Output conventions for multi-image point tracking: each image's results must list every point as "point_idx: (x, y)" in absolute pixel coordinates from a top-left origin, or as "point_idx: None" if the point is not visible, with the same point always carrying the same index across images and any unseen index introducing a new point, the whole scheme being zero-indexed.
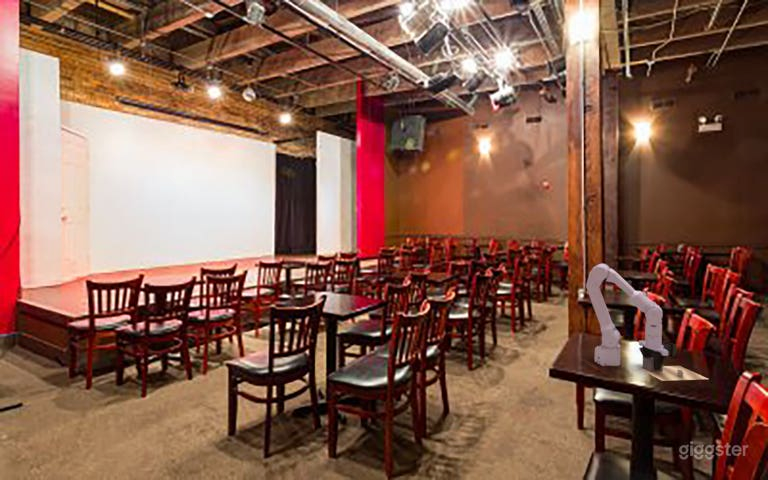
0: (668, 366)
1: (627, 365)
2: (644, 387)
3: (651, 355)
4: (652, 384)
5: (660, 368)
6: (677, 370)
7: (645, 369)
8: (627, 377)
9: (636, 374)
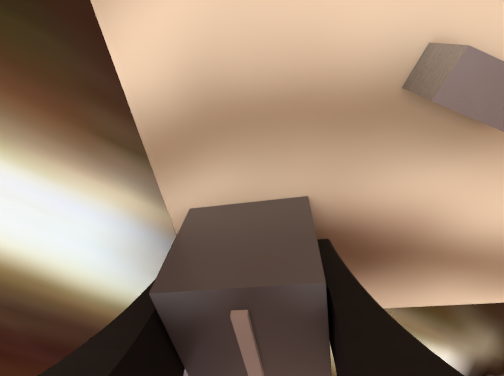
0: (114, 30)
1: (109, 294)
2: (493, 369)
3: (150, 336)
4: (466, 321)
5: (335, 251)
6: (427, 98)
7: None
8: (333, 371)
9: None
